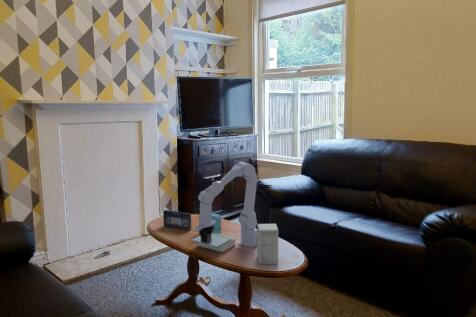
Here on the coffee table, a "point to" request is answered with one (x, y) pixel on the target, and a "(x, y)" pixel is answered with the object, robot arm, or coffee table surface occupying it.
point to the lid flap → (212, 240)
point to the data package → (218, 223)
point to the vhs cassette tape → (177, 220)
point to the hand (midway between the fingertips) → (206, 241)
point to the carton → (221, 248)
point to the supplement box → (267, 243)
